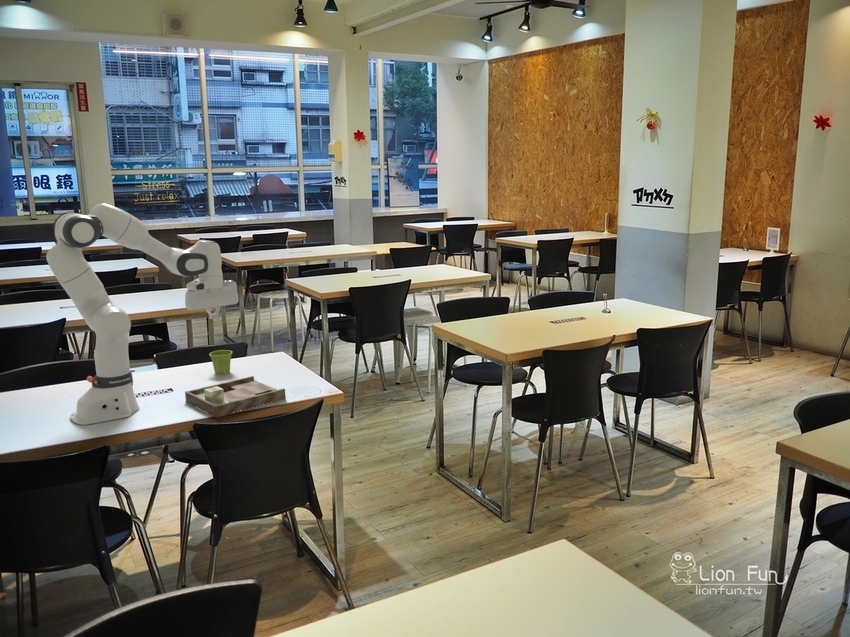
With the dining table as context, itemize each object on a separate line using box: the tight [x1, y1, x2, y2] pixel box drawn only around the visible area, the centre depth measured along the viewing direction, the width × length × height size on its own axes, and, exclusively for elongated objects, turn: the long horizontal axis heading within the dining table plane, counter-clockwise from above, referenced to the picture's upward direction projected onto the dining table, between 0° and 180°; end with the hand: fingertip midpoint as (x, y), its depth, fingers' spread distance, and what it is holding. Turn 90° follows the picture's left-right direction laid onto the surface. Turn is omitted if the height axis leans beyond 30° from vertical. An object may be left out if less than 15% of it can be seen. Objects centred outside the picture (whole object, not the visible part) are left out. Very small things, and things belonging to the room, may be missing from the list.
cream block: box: [204, 386, 224, 403], centre depth 263 cm, size 5×5×4 cm
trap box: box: [184, 375, 286, 418], centre depth 269 cm, size 28×24×4 cm
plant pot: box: [209, 349, 233, 375], centre depth 306 cm, size 9×9×9 cm
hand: (213, 318), depth 277 cm, fingers closed
